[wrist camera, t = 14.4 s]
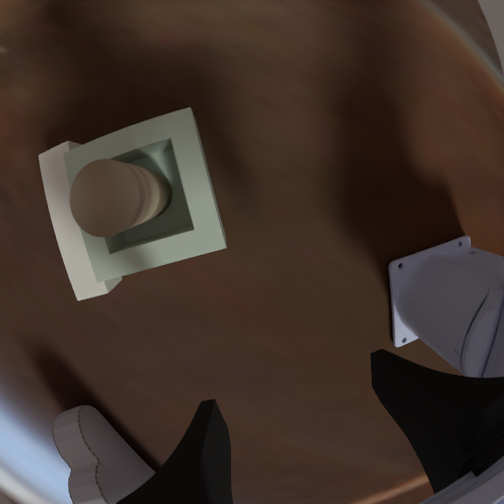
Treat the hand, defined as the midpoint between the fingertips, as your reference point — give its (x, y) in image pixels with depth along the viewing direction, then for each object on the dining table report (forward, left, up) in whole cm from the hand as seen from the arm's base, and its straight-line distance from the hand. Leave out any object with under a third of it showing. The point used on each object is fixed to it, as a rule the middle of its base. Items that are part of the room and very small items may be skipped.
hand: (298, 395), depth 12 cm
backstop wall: (+11, -10, -10) cm, 18 cm away
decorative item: (+17, +18, -10) cm, 27 cm away
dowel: (+6, -10, -9) cm, 15 cm away
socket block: (+6, -10, -10) cm, 15 cm away
